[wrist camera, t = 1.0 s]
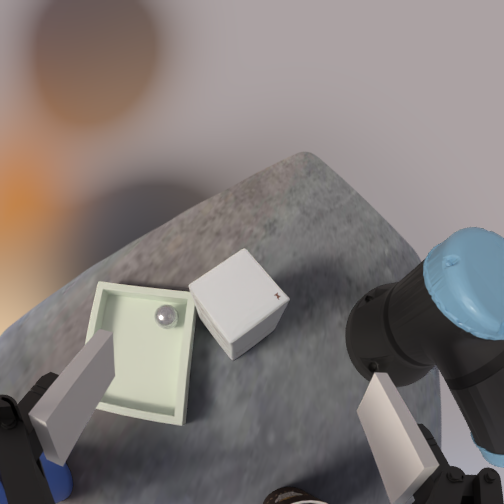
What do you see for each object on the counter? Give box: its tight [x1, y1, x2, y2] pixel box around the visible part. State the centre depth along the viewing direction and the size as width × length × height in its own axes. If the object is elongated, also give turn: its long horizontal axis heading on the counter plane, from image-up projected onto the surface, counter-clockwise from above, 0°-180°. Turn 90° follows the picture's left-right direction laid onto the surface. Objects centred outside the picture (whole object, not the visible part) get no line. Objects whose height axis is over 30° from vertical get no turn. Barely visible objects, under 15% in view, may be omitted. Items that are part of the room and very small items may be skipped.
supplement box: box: [188, 248, 290, 360], centre depth 36 cm, size 7×7×13 cm
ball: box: [154, 304, 179, 329], centre depth 38 cm, size 3×3×3 cm
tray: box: [85, 281, 197, 426], centre depth 37 cm, size 14×17×3 cm
